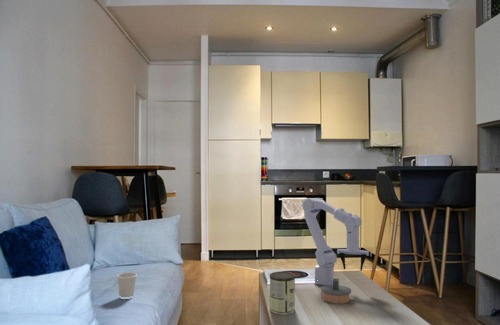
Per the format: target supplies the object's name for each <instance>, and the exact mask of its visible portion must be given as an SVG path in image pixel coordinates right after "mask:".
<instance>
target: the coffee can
mask: <svg viewBox="0 0 500 325" xmlns="http://www.w3.org/2000/svg"><path fill="white" fill-rule="evenodd" d="M295 279H296V275H295V273H292V272H288V271H275V272H271V273H270V274H269V311H270V312H271V313H273V314H277V315H291V314H293V313H295V311H296V309H295V308H296V306H295V305H296V303H295V302H296V300H295V297H296V295H295V293H296V292H295V291H296V288H295V287H296V286H295V285H296V284H295V283H296V282H295V281H296V280H295Z"/></svg>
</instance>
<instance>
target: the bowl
mask: <svg viewBox="0 0 500 325" xmlns="http://www.w3.org/2000/svg"><path fill="white" fill-rule="evenodd" d="M321 292H322V291H321ZM321 296H322V298H321V299H322V300H323V301H324V302H327V303H331V304H347V303H350V294H348V295H330V294H326V293H324V292H322V293H321Z"/></svg>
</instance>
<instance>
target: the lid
mask: <svg viewBox="0 0 500 325" xmlns="http://www.w3.org/2000/svg"><path fill="white" fill-rule="evenodd" d="M320 291H321V292H324V293H326V294H330V295H348V294H349V295H350V294H352V289H351V288H350V287H348V286H346V285H342V284H340V279H339V278H335V277H334V278H333V285H321V287H320Z"/></svg>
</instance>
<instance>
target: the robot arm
mask: <svg viewBox="0 0 500 325" xmlns="http://www.w3.org/2000/svg"><path fill="white" fill-rule="evenodd" d="M301 207H302V210H303V214H304V220H305V221H306V222H305V223H306V224H307V227H308V229H309V232H310V235H311V237H312V239H313V242H314V244H315V247H316V251H315V253H314V254H315V257H316V259H315V260H316V262H317V264H315V266H314V285H321V286H324V285H333V278H335V276H334V275H335V264H336V262H337V258H338V257H337V254H339V257H340V260H341V263H342V268H343V270H346V255H354V256H355V255H356V256H357V255H358V256H360V267H359V268H360V270H359V271H361V272H362V271H363V267H364V263H365V262H366V259H367V256H370V251H369V250H364V249H362V250H361V249H360V227H361V225H362V219H361V217H360V216H358V215H356V214H355V215H353V213H351V212H348V211H346V210H345V208H343V207H342V208H339V207H338V208H336V207H334V206H332V205H331V204H329V203H328V202H327V201H325V200H324V199H322V198H320V197H315V198H305V199H303V203H302V205H301ZM321 210H323V211H325V212H326V213H329V214H331V215H333V218H334V219H335V220H337V221H339V222H340V223H342V224H344V226H345V228H346V248H337V250H336V252H334V251H333V249H332V247H330V246H329V245H328V244H327V241H326V239H325V237H324V234H323V232H322V229H321V227H320V224H319V222H318V219H317V218H316V217H317V215H318V214H319V212H321ZM317 280H318V281H317Z"/></svg>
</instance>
